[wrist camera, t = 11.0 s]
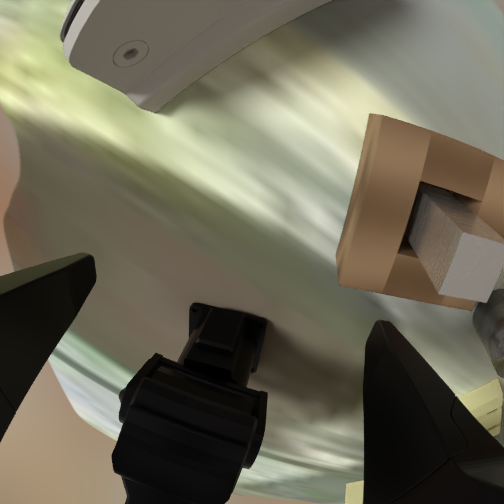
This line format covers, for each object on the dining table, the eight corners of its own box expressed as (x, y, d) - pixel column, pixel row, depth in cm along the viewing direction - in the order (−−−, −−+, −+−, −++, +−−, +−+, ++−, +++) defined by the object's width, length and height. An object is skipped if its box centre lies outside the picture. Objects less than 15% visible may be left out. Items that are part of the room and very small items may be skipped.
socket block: (453, 280, 21) (471, 310, 17) (335, 254, 22) (338, 285, 18) (496, 158, 16) (526, 171, 13) (369, 113, 17) (382, 115, 14)
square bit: (433, 229, 20) (486, 302, 12) (396, 220, 20) (438, 294, 12) (445, 189, 18) (511, 246, 10) (407, 178, 18) (463, 232, 11)
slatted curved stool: (346, 391, 28) (339, 565, 12) (495, 328, 22) (561, 492, 6) (405, 480, 37) (406, 571, 21) (494, 446, 31) (510, 537, 15)
